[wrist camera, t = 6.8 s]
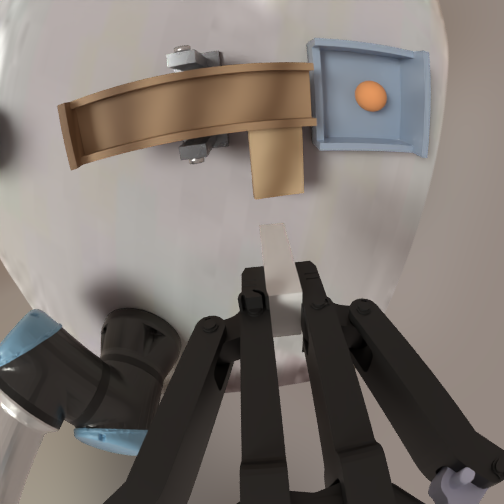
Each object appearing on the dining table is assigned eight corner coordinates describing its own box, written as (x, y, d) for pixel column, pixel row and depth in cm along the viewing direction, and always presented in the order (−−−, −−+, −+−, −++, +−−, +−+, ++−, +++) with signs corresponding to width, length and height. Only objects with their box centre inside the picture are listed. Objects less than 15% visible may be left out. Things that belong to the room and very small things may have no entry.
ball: (391, 113, 26) (364, 109, 28) (391, 83, 24) (363, 80, 26) (378, 114, 24) (349, 110, 26) (378, 80, 22) (348, 78, 24)
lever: (101, 225, 26) (93, 240, 24) (71, 103, 19) (57, 105, 17) (310, 189, 29) (322, 200, 26) (305, 64, 22) (318, 61, 19)
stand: (186, 150, 31) (168, 169, 24) (174, 58, 25) (151, 51, 18) (228, 145, 31) (223, 162, 24) (218, 51, 25) (209, 39, 18)
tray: (312, 142, 30) (324, 155, 25) (306, 43, 24) (319, 34, 19) (402, 144, 30) (427, 157, 25) (402, 54, 24) (429, 52, 19)
